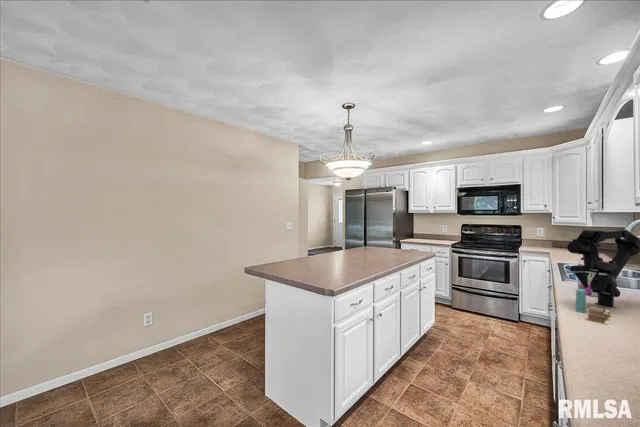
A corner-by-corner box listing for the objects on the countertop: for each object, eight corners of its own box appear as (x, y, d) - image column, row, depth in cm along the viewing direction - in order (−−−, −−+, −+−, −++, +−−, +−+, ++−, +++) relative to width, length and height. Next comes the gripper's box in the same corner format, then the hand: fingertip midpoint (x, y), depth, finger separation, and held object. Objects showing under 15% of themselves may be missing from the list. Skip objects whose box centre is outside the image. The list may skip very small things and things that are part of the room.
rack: (591, 312, 133) (591, 305, 133) (612, 317, 127) (612, 309, 127) (583, 322, 121) (584, 313, 121) (607, 327, 116) (607, 318, 116)
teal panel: (578, 311, 135) (578, 288, 134) (585, 313, 133) (585, 289, 132) (575, 314, 131) (576, 290, 131) (583, 315, 129) (583, 291, 129)
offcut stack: (589, 316, 125) (589, 306, 125) (605, 320, 121) (605, 310, 121) (587, 319, 122) (587, 309, 121) (603, 323, 118) (604, 312, 118)
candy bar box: (577, 291, 168) (577, 263, 168) (587, 291, 167) (587, 263, 167) (590, 296, 157) (591, 267, 157) (601, 297, 156) (602, 267, 156)
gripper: (590, 252, 129) (595, 287, 126) (627, 256, 131) (632, 291, 128) (567, 254, 140) (570, 286, 137) (601, 258, 142) (605, 290, 138)
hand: (595, 288), depth 134 cm, fingers open, 9 cm apart
